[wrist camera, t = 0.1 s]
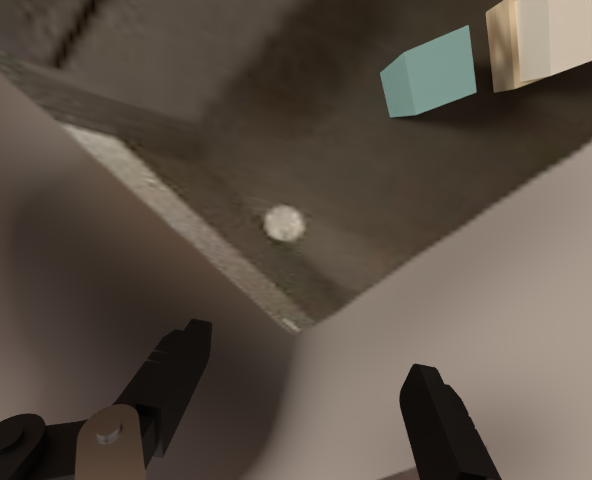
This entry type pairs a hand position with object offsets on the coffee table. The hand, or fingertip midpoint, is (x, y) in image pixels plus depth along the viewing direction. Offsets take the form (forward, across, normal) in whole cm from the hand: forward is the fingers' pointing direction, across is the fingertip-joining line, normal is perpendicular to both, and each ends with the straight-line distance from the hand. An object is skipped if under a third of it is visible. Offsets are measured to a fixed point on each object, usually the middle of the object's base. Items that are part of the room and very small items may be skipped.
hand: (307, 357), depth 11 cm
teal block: (+29, -8, -14) cm, 33 cm away
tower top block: (+26, -19, -20) cm, 38 cm away
